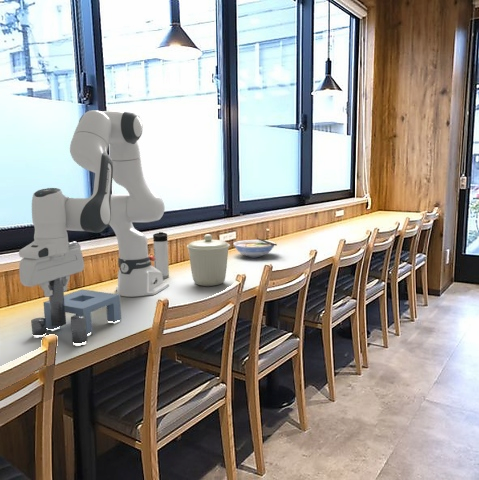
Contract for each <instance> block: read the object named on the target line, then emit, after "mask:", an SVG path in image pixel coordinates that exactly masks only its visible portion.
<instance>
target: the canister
mask: <svg viewBox="0 0 479 480" xmlns="http://www.w3.org/2000/svg"><path fill="white" fill-rule="evenodd" d="M230 246H231V244H230V243H228V242H227V241H224V240H220V239H213V235H212V234H209V233H208V234H207V233H206V234H205V235H204V236H203V239H198V240H194V241H191V242H190V243H189V244H187V245H186V248H187V249H188V256H189V263H190V270H191V276H192V280H193V283H195V284H196V285H199V286H203V287H213V286H219V285H221V284H223V283H224V282H225V280H226V277H227V268H228V266H227V265H228V258H229V255H228V254H229V247H230Z"/></svg>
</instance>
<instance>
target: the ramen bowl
mask: <svg viewBox="0 0 479 480" xmlns="http://www.w3.org/2000/svg"><path fill="white" fill-rule="evenodd" d="M233 245H234V247H235V249H236V250H237V252H238V253H240V254H241V255H244V256H246V257H248V258H261V257H262V256H264V255H267V254H269V253H270V252H271V251H272V250H273V248H274V247H275V246H277V243H276V242H274V241H272V240H266V239H265V240H264V239H261V238H258V239H245V240H238V241H235V242H233Z"/></svg>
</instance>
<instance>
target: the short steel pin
mask: <svg viewBox="0 0 479 480" xmlns="http://www.w3.org/2000/svg"><path fill="white" fill-rule="evenodd" d="M30 323H31V326H30V327H31V334H33V335H43V334H45V333H47V334H48V332H47V329H46V318H45V317H35V318H33V319H31V322H30Z"/></svg>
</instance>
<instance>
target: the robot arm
mask: <svg viewBox="0 0 479 480" xmlns="http://www.w3.org/2000/svg"><path fill="white" fill-rule="evenodd" d="M142 122H143V120H142V118H141V117H140V115H138V113H137V112H135V111H131V110H113V109H112V110H104V111H103V110H102V111H101V110H96V109H95V110H94V109H92V110H87V111H86V112H85V113H83V114H82V115H81V117H80V118H79V120H78V123H77V126H76V127H75V130H74V131H73V132H74V133H73V136H72V138H71V141H70V145H69V153H70V156H71V158H72V160H73V161H74V163H76V164H77V165H78V166H80V167H81V168H83V169H84V170H87V171H89V172H92V173H94V181H93V191H92V195H91V196H88V197H86V198H81V197H80V198H78V197H77V198H74V197H69V196H67V195H65V194H63V192H62V189H60V188H57V187H47V188H42V189H38V190H37V191H35V192H34V193H33V194H32V199H31V219H32V224H33V227H34V234H33V241H32V242H31V243H29V244H27V245H26V246H24V247H22V248H21V249H20V250H19V251H18V256H19V258H21V260H20V261H19V266H18V269H19V271H18V272H19V280H20V281H19V282H20V284H22V286H24V287H30V288H32V287H35V286H40V287H39V288H41V289H42V291H43V295H44V297H45V298H49V297H50V296H53V290H50V289H49V288H48V285H49V281H52V280H55V279H58V278H61V277H62V279H63V291H64V293H65V292H67V291H68V284H69V282H70V279H71V276H72V275H74V274H78V273H81V272H83V271H84V268H85V262H84V257H83V253H82V249H81V244H79V243H78V242H77V241H71V242H69V236H68V231H75V232H87V233H95V234H98V233H101V232H103V231H104V230H105V229H107V227H108V226H110V227H111V229H112V231H113V232H114V234H115V237H116V240H117V245H118V259H117V260H118V261H117V263H118V265H117V266H118V268H119V270H117V286H116V288H115V291H116V290H117V291H116V294H118V295H120V296H121V297H129V298H130V297H143V296H154V295H157V294H159V293H160V292H161V291H163V290H164V289H166V288H167V287H169V286H170V284H169V282H166V281H164V279H163V277H162V273H161V272H160V271H159V270H158V269H156V268H155V267H154V265H152V262H154V260H155V257H154V255H149V252H148V250H149V249H148V238H147V236H146V235H145V234H144V233H143V232H141V231H139V230H138V229H136V228H135V227H134V224H133V223H151V222H156V221H159V220H161V218H162V217H163V215H164V213H165V204H164V203H165V202H164V201H163V199H162V198H161V196H159V195H158V194H157V193H156V192H154V191H153V190H152V189H151V188H150V186H149V185H148V184H147V182H146V180H145V177H144V173H143V167H142V160H141V151H140V146H139V143H138V141H139V140H140V138H141V137H142V134H143V123H142ZM108 151H109V154H108ZM113 181H114V182H115V183H116V184H117V185H119V186H121V187H123V188H124V189H125V190H126V191H127V192H128V193H112V188H113ZM151 261H152V262H151Z"/></svg>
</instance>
